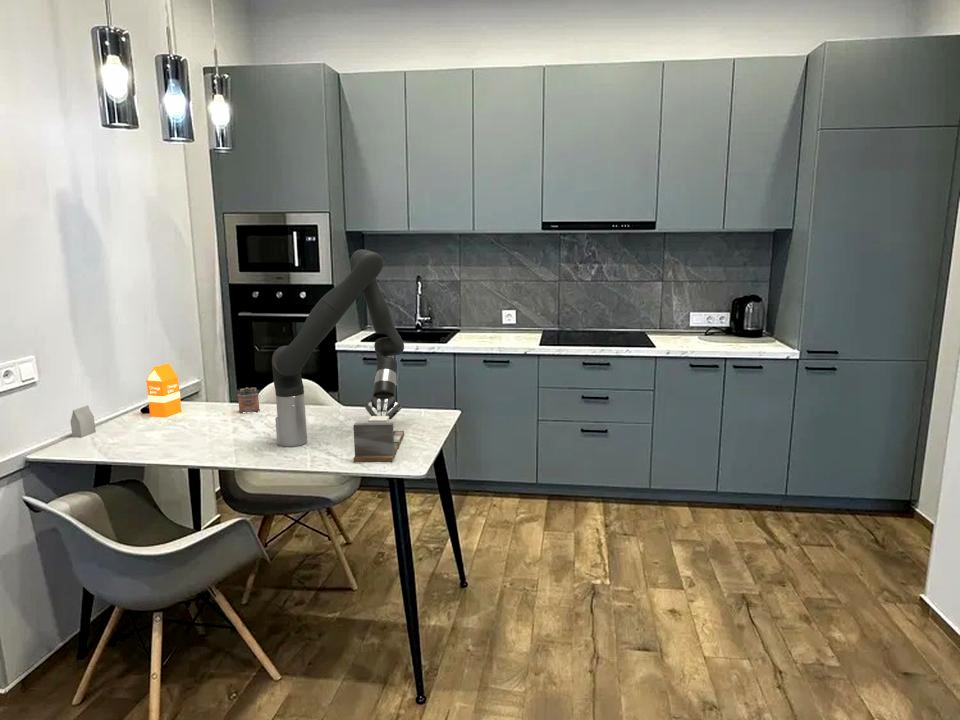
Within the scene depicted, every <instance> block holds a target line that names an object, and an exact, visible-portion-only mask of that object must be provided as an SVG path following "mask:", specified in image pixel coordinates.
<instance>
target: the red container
mask: <svg viewBox="0 0 960 720" xmlns="http://www.w3.org/2000/svg"><path fill="white" fill-rule="evenodd" d="M239 392H240V393H237V399H238V413H239V412H240V413H239V414H244V413H243V412H256V411H260V412H261V409H260V403H259V402H260V400H259V399H260V398H259V392H257V387H250V388H249V387H245V388H240V389H239ZM256 413H257V412H256Z"/></svg>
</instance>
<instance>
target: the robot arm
mask: <svg viewBox="0 0 960 720" xmlns="http://www.w3.org/2000/svg"><path fill="white" fill-rule="evenodd" d="M349 263H350V268H351V271H350V272H349V274H348V275H347V276H346V277H345V278H344V280H342V281H341V282H340V283H338V284H337V285H336V286H335V287H333V288H331V289H330V290H329V291H328V292H326V293H325V294H324V295H323V296H322V297H321V298H320V299H319V300H318V302H317V303H316V304H315V305H314V307H313V308H312V309H311V310H310V313H309V314H308V316H307V317H306V319H305V321H304V323H303V326H302V328H301V329H300V331H299V332H298V334H297V335H296V337H294V339H293V340H292V341H291V342H290V343H289V344H288V345H282V346H279V347H278V348H276V349H275V350H274V352H273V354H272V357H271V365H272V367H271V368H272V376H273V377H272V379H273V385H274V390H275V403H276V415H277V416H276V417H275V419H274V420H275V430H276V431H275V432H276V443H277V444H276V445H277V446H280V447H281V446H282V447H298V446H299V447H300V446H303V445H305V444H307V442H308V430H307V415H306V414H307V413H306V403H305V401H306V400H305V388H304V387H305V385H304V384H303V378H302V369H303V368H304V366H305V365H306V363H307V362H308V361H309V358H310V357H311V355H312V354H313V352H314V351H315V349H316V348H317V347H318V346H319V345H320V343H322V342H323V340H324V339H325V338H326V337H327V336H328V335H329V333H330V332H331V331H332V330H333V329H334V328H335V326H337V324H338V323H339V321H340V320H341V319H342V318H343V316H345V314H346V312H347V311H348V310H349V309H350V308H351V306H352V305H353V304H354V302H355V301H356V300H357V298H358V297H359V296H360V295H361V293H362V295H363V297H364V301H365V303H366V306H367V309H368V313H369V316H370V317H369V318H370V321H371V324H372V327H373V330H374V332H375V333H376V334H379V335H380V334H381V335H386V337H380V338H377V339H376V340H375V341H374V352H375V356H376V372H375V377H374V384H373V393H372V398H371V399H370V402H368V403H367V402H366V403H364V408H365V411H367V413H368V414H369V415H370V417H371V416H389V420H393V418H394V417H395V416H396V415H397V414H398V413H399V412H400V411H401V410H402V405H401V403H400V402H397V400H396V390H397V389H396V388H397V384H398V383H397V370H398V362H397V360H396V359H395V358H393V357H394V356H399V355H402V354H403V352H404V350H405V345H404V341H403V339H402V337H401V335H400V333H399V332H398V330H397V328H396V326H395V325H394V323H393V318H392V315H391V311H390V309H389V306H388V303H387V302H386V299H385V297H384V296H383V293H382V291H381V289H380V287H379V284H378V281H377V277H378V276H379V275H380V273H381V272H382V270H383V266H384V262H383V259H382V256H381V255H380V254H379V253H377V252H375V251H371V250H368V249H363V248H362V249H357V250H356V251H354V252H353V253H352V255H351V256H350V261H349ZM373 408H374V409H375V411H376V412H375V411H374V409H373Z"/></svg>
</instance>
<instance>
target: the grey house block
mask: <svg viewBox="0 0 960 720" xmlns="http://www.w3.org/2000/svg"><path fill="white" fill-rule="evenodd" d="M69 422H70V430H71V435H72V438H77V439H78V438H80V439H81V438H84V437H86V436H89V435H92V434H95V433H96V425H95V424H96V423H95V416H94V414H93V413H92V411H91V409H90V407H89V405H84V406H81V407H79V408H77V409H73V410H72V415H71V417H70V421H69Z"/></svg>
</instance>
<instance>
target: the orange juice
mask: <svg viewBox="0 0 960 720" xmlns="http://www.w3.org/2000/svg"><path fill="white" fill-rule="evenodd" d="M179 383H180V382H179V377H178V375H177V373H176V372H175V371H174V368H173V367H172V366H171V364H170V363H163V364H160V365H156V366H152V369H151V371H150V373H149V375H148V376H147V379H146V389H147V391H146V392H147V400H148V409H149V416H150V417H155V418H168V417H171V416H174V415H177V414H179V413H182V404H181V403H182V402H181V401H182V400H181V392H180V384H179Z"/></svg>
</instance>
